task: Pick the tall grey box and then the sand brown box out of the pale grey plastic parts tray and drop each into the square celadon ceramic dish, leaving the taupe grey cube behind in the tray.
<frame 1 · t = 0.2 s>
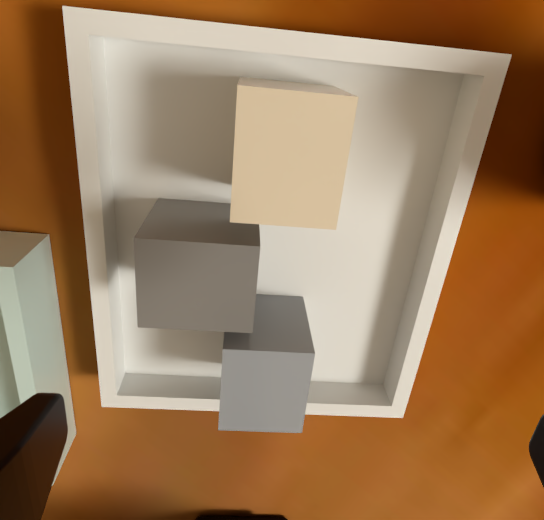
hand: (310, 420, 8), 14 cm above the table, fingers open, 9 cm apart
parts tray: (270, 239, 21), on the table
taupe grey cube: (207, 240, 21), point 1 cm above the table, touching parts tray
sand brown box: (281, 137, 19), point 1 cm above the table, touching parts tray
tall grey box: (262, 331, 23), point 1 cm above the table, touching parts tray
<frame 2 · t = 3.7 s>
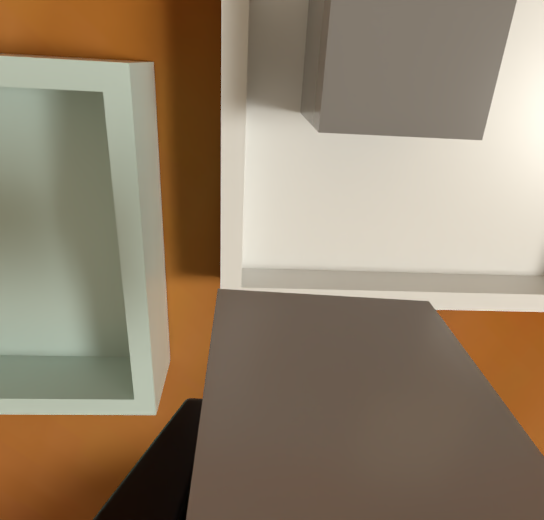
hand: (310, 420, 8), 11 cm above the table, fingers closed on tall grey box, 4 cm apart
parts tray: (446, 63, 16), on the table
taupe grey cube: (369, 58, 15), point 1 cm above the table, touching parts tray
dish: (0, 228, 18), on the table
tall grey box: (309, 393, 9), point 10 cm above the table, touching gripper
when the fingers open (5 cm above the table, at t = 5.5 s): tall grey box drops 4 cm, resting on dish.
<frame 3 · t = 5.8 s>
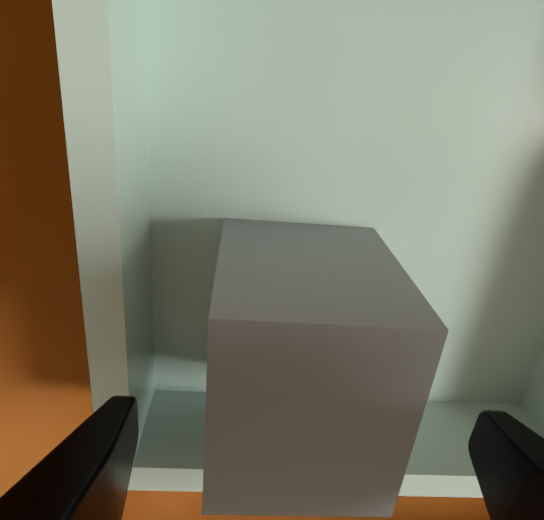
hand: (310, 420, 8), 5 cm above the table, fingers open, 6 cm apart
dish: (371, 213, 12), on the table
tall grey box: (290, 300, 12), point 1 cm above the table, touching dish
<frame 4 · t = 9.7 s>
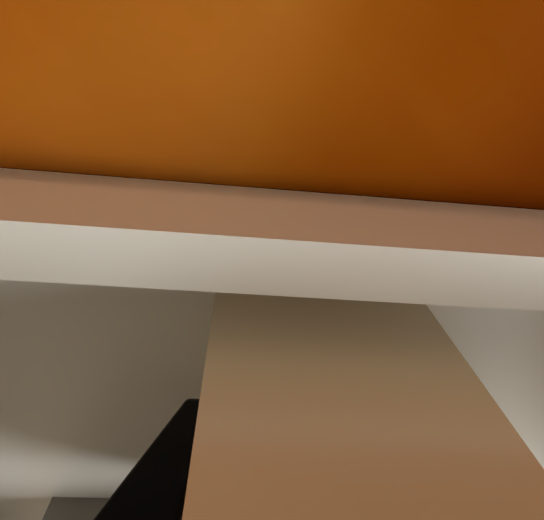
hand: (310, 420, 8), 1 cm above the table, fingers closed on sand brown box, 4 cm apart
sand brown box: (306, 396, 9), point 1 cm above the table, touching gripper, parts tray
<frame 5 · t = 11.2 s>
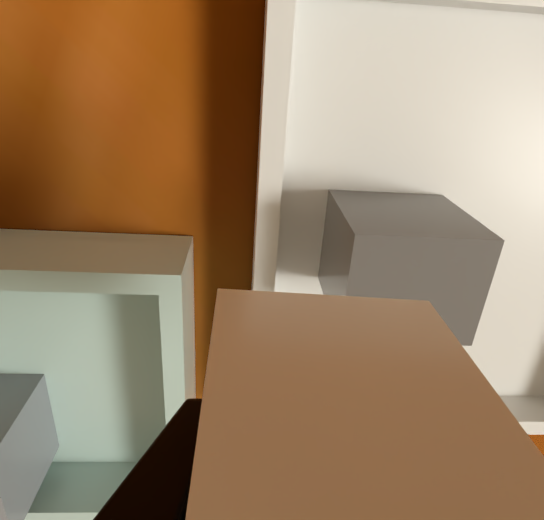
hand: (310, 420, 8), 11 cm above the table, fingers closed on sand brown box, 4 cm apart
parts tray: (443, 234, 18), on the table
taupe grey cube: (377, 237, 18), point 1 cm above the table, touching parts tray
sand brown box: (309, 393, 9), point 10 cm above the table, touching gripper
dish: (53, 360, 20), on the table
tall grey box: (10, 411, 20), point 1 cm above the table, touching dish
when the fingers open (5 cm above the table, at t = 12.9 s): sand brown box drops 4 cm, resting on dish.
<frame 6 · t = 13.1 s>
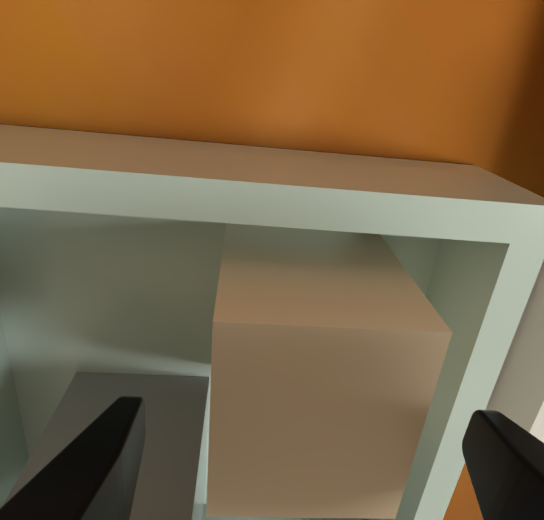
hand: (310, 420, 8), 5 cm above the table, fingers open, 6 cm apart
sand brown box: (293, 302, 12), point 1 cm above the table, touching dish
dish: (215, 356, 14), on the table
tall grey box: (146, 431, 14), point 1 cm above the table, touching dish
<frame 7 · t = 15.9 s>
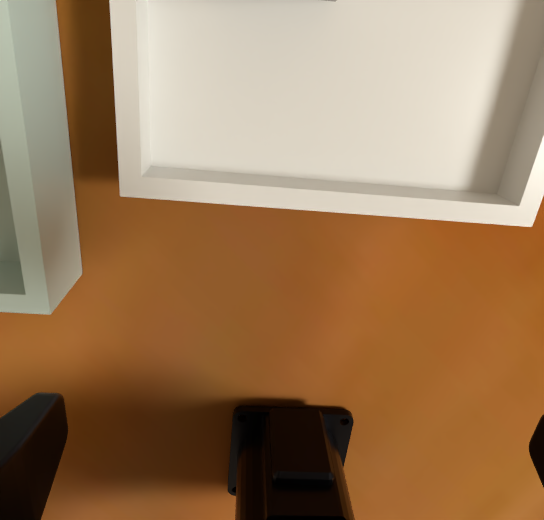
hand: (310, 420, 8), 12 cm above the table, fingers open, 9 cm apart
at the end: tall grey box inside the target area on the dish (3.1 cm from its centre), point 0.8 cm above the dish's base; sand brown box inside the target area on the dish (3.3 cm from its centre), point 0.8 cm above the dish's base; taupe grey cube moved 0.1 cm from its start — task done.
